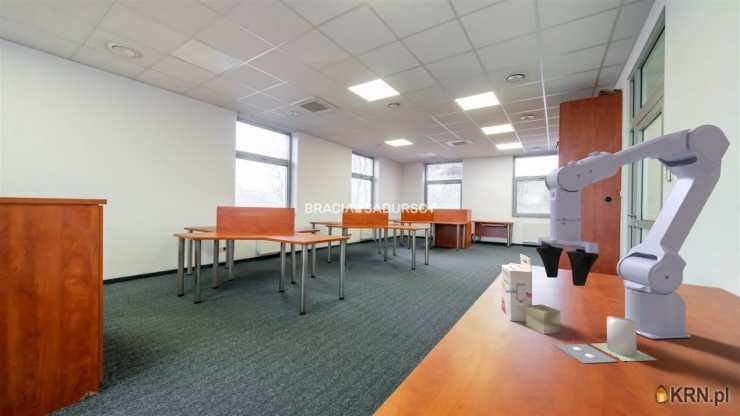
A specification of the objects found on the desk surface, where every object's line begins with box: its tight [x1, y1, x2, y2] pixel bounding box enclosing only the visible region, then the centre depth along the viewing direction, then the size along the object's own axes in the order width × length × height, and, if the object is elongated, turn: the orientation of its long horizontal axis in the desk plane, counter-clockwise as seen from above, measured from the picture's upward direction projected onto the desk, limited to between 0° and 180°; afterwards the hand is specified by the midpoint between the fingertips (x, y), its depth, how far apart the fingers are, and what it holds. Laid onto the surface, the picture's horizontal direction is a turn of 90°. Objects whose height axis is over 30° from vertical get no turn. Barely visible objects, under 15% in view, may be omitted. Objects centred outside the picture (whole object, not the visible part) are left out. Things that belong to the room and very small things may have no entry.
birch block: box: [525, 304, 562, 335], centre depth 62 cm, size 4×4×4 cm
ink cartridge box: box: [501, 253, 533, 323], centre depth 70 cm, size 9×5×15 cm, turn 168°
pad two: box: [553, 343, 618, 364], centre depth 51 cm, size 6×6×1 cm
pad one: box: [590, 342, 658, 362], centre depth 52 cm, size 6×6×1 cm
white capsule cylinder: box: [606, 315, 637, 356], centre depth 52 cm, size 4×4×6 cm
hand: (564, 281), depth 64 cm, fingers open, 7 cm apart
